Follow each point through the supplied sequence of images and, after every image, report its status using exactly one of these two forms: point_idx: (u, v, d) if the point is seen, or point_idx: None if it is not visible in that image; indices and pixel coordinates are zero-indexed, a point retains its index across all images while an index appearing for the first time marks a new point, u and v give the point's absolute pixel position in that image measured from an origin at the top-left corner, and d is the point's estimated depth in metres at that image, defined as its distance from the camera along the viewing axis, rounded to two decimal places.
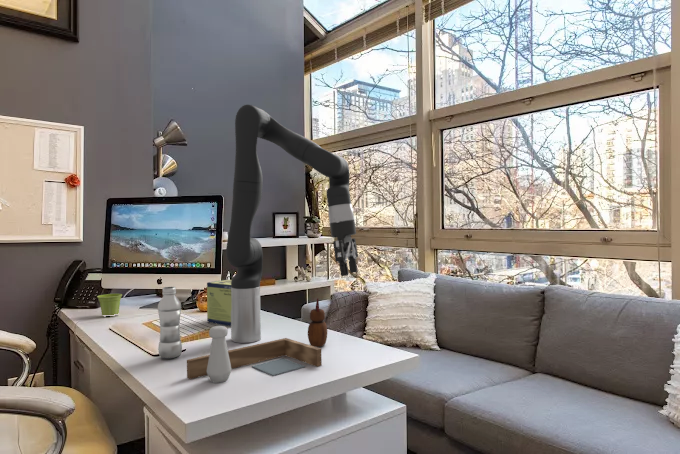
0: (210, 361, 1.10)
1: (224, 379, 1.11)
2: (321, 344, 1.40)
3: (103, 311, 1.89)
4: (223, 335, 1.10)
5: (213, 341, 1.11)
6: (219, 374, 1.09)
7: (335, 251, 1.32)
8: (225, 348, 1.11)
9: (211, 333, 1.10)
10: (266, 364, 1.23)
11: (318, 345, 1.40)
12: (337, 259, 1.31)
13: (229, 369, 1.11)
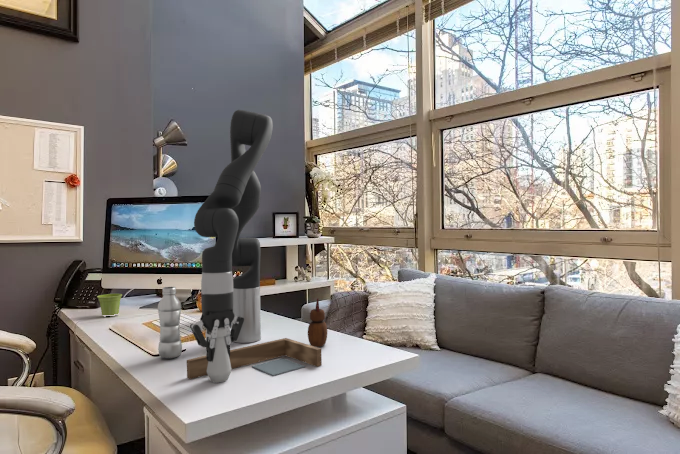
0: None
1: (224, 379, 1.11)
2: (321, 344, 1.40)
3: (103, 311, 1.89)
4: (223, 335, 1.10)
5: None
6: (219, 374, 1.09)
7: (195, 336, 1.09)
8: (225, 348, 1.11)
9: None
10: (266, 364, 1.23)
11: (318, 345, 1.40)
12: (199, 344, 1.09)
13: (229, 369, 1.11)
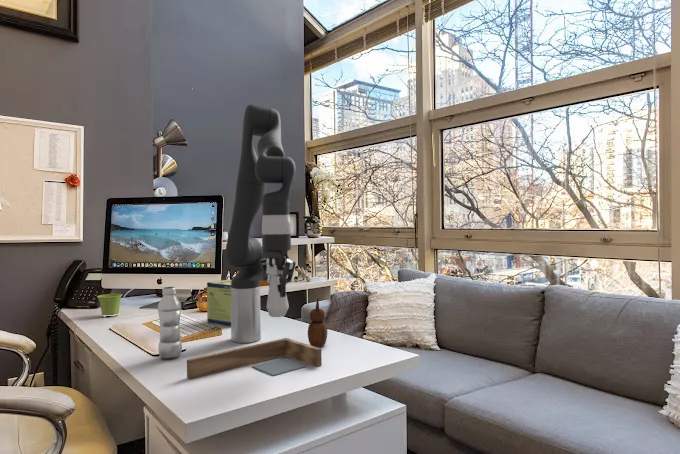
0: None
1: (271, 314, 1.19)
2: (321, 344, 1.40)
3: (103, 311, 1.89)
4: (270, 273, 1.19)
5: None
6: None
7: None
8: (274, 286, 1.19)
9: None
10: (266, 364, 1.23)
11: (318, 345, 1.40)
12: None
13: (273, 307, 1.18)
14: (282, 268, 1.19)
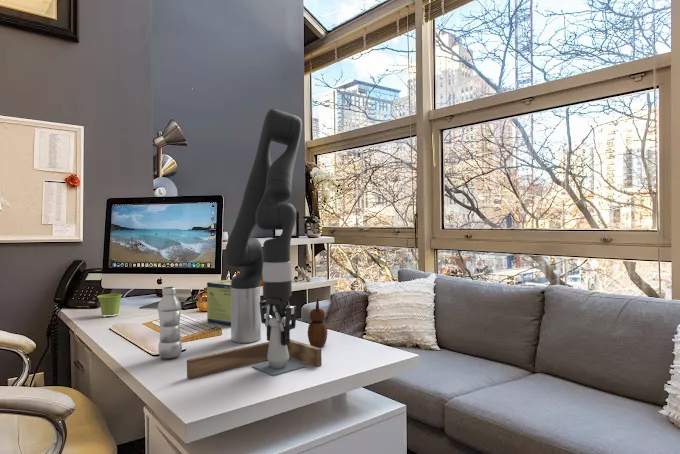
0: None
1: (271, 365, 1.20)
2: (321, 344, 1.40)
3: (103, 311, 1.89)
4: (271, 325, 1.20)
5: None
6: (267, 358, 1.21)
7: None
8: (274, 338, 1.19)
9: None
10: (266, 364, 1.23)
11: (318, 345, 1.40)
12: None
13: (273, 358, 1.19)
14: (283, 315, 1.19)
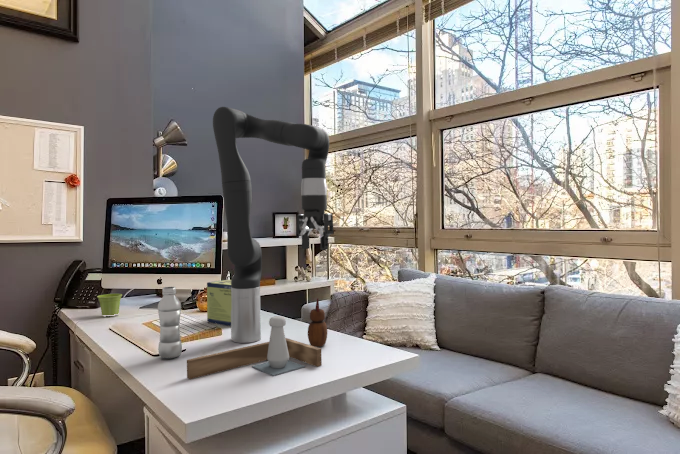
0: None
1: (271, 365, 1.20)
2: (321, 344, 1.40)
3: (103, 311, 1.89)
4: (271, 325, 1.20)
5: None
6: (267, 358, 1.21)
7: None
8: (274, 338, 1.19)
9: None
10: (266, 364, 1.23)
11: (318, 345, 1.40)
12: None
13: (273, 358, 1.19)
14: (319, 225, 1.34)
